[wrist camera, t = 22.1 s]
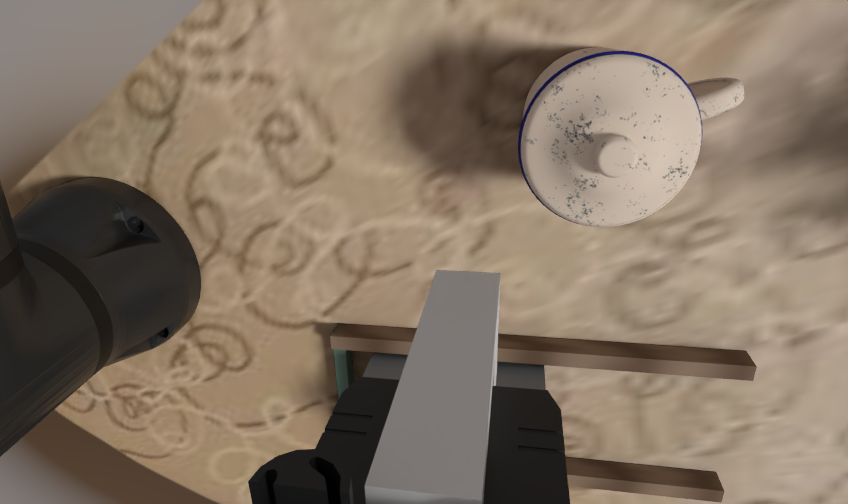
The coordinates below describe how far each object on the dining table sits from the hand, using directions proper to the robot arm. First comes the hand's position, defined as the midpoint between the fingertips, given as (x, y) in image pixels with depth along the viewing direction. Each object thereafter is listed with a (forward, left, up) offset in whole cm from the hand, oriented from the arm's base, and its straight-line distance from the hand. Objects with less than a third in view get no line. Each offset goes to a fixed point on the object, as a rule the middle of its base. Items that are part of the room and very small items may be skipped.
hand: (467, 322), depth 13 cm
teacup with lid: (+7, +1, -27) cm, 28 cm away
